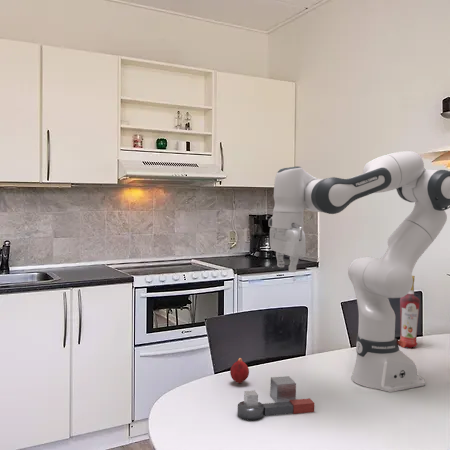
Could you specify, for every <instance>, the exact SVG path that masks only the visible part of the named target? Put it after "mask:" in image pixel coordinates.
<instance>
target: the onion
mask: <svg viewBox="0 0 450 450" xmlns="http://www.w3.org/2000/svg"><path fill="white" fill-rule="evenodd" d="M229 370H230V372H229V374H230V377H231V379H232V380H233V381H234V382H235V383H237V384H239V385H240V384H242V383H243V382H244V381H246V380H247V379H248V378H249V375H250V369H249V367H248V365H247V364H246V363H245V362H244V361H243V358H241V357H239V358H238V360H237V361H235V362H234V363H233V364H232V366H231V367H230V369H229Z"/></svg>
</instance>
